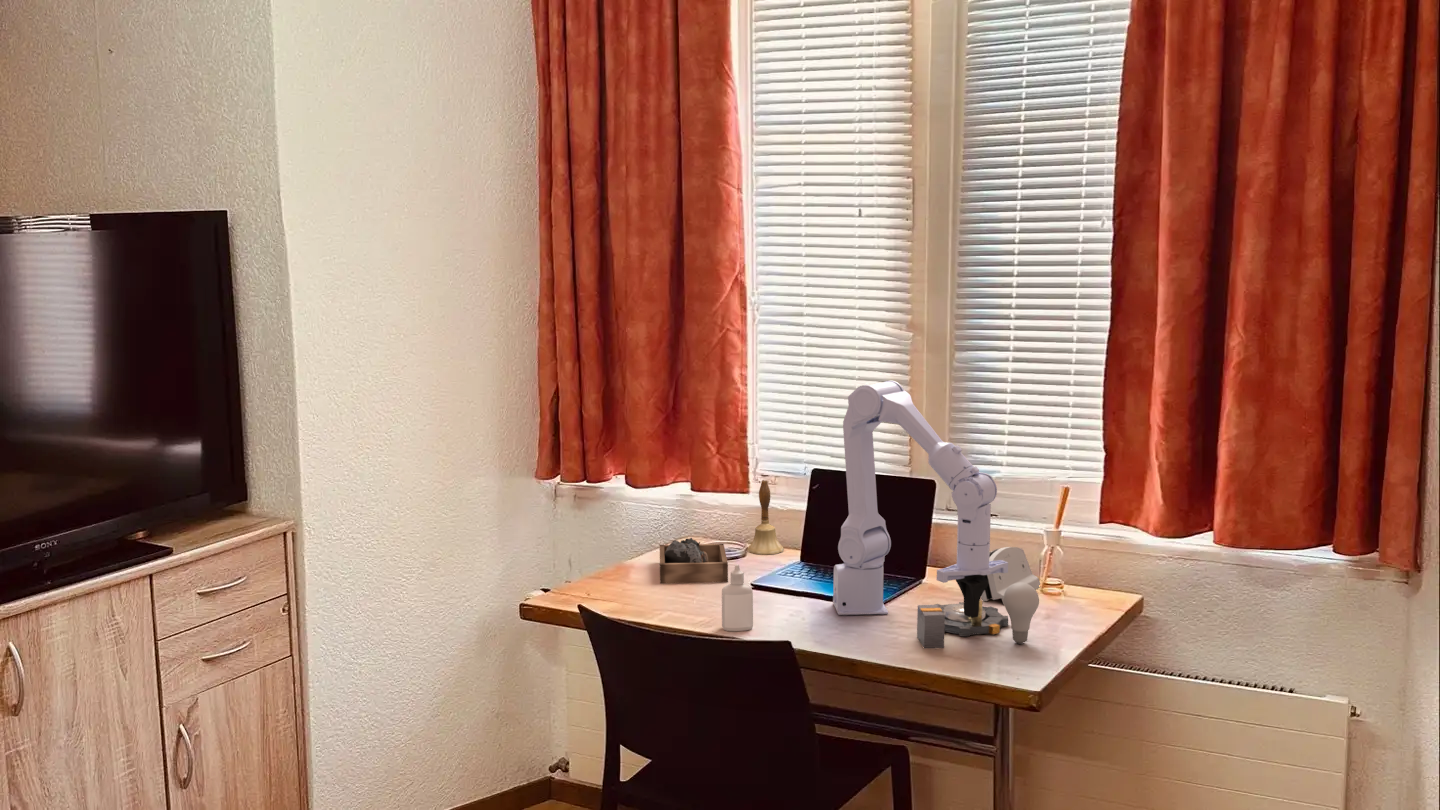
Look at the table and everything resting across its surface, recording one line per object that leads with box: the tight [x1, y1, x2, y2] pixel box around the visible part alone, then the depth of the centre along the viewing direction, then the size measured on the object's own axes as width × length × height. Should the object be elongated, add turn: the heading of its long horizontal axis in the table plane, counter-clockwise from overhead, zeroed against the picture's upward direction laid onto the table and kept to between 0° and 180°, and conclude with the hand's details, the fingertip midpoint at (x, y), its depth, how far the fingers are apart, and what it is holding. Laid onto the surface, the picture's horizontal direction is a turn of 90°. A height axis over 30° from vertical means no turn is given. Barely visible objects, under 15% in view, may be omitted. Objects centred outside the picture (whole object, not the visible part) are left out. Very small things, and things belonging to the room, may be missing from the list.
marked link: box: [916, 604, 945, 650], centre depth 221 cm, size 4×6×6 cm, turn 3°
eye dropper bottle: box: [721, 563, 754, 632], centre depth 229 cm, size 4×6×12 cm
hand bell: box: [746, 480, 785, 556], centre depth 284 cm, size 8×8×16 cm
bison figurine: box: [664, 537, 709, 563], centre depth 266 cm, size 12×7×10 cm
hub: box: [943, 603, 985, 623], centre depth 232 cm, size 8×8×3 cm
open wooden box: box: [659, 543, 729, 584], centre depth 267 cm, size 14×16×4 cm
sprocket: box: [934, 599, 1009, 637], centre depth 231 cm, size 15×15×6 cm
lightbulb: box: [1002, 583, 1040, 645], centre depth 220 cm, size 6×6×11 cm
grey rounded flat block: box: [980, 546, 1041, 606], centre depth 251 cm, size 17×5×10 cm, turn 141°
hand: (971, 615), depth 225 cm, fingers closed, pressing on sprocket
